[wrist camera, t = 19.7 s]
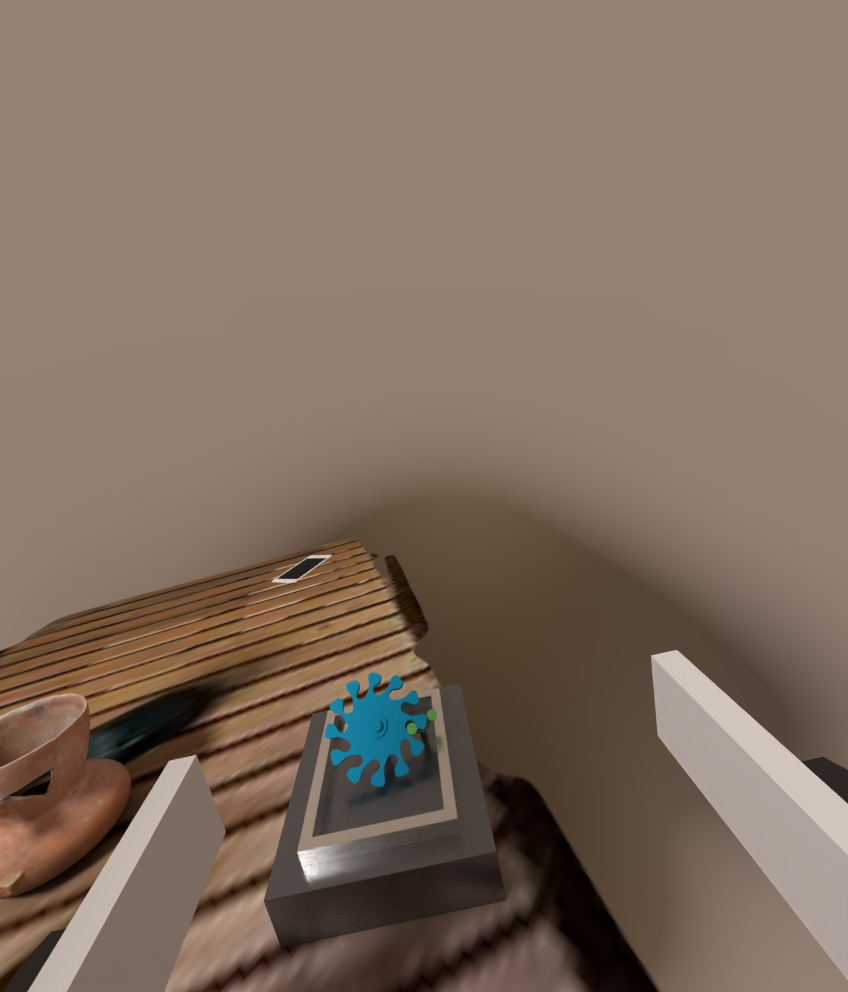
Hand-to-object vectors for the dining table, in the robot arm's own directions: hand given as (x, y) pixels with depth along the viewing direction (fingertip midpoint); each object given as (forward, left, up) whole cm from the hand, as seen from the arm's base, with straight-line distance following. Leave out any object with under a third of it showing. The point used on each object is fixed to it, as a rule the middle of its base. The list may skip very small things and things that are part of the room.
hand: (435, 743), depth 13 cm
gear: (-7, +27, -25) cm, 38 cm away
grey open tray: (-8, +26, -30) cm, 40 cm away
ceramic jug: (-45, +31, -30) cm, 62 cm away
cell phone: (-33, +101, -31) cm, 110 cm away
